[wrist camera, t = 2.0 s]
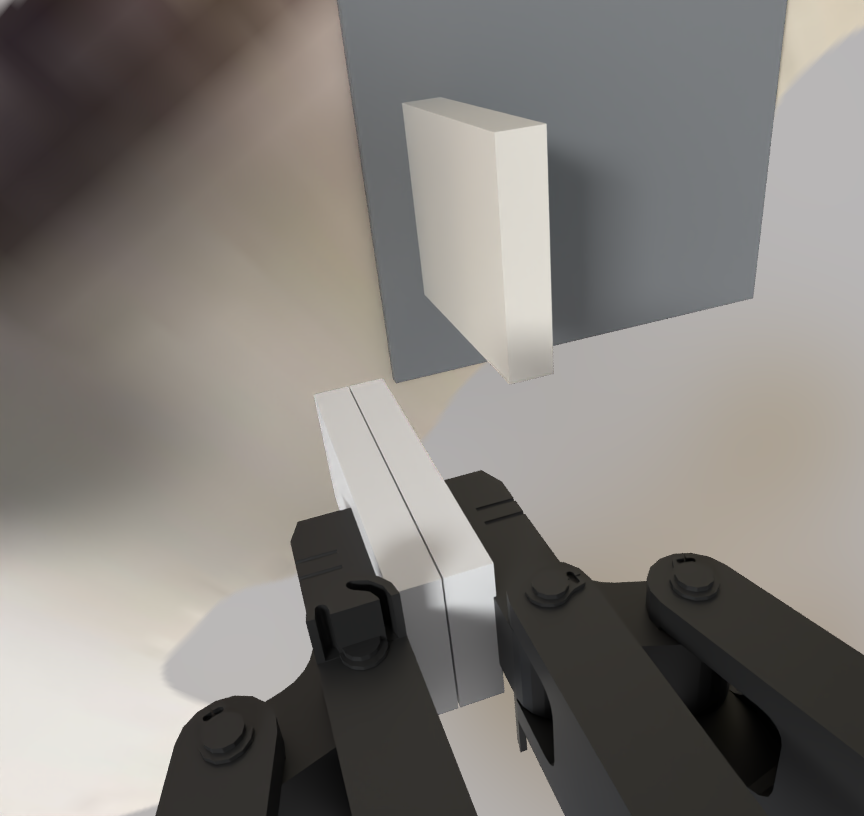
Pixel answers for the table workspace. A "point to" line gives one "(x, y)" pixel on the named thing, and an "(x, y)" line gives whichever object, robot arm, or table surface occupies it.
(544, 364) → the tile
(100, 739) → the table surface
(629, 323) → the mat
